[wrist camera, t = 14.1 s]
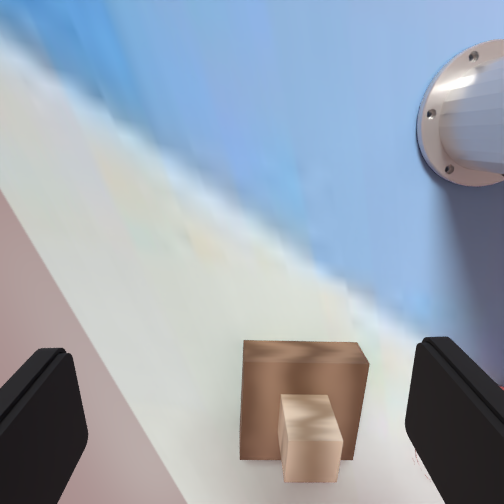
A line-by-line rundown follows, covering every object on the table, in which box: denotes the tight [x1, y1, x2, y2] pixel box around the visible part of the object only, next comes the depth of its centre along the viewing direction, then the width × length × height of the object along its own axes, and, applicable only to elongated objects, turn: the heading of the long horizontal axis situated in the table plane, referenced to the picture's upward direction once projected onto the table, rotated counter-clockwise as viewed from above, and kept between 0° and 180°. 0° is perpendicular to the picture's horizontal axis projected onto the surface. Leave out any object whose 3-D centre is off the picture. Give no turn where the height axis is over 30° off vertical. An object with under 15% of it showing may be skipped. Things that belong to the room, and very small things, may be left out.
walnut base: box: [240, 340, 369, 460], centre depth 40 cm, size 13×13×4 cm
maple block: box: [278, 394, 343, 482], centre depth 35 cm, size 5×5×6 cm
